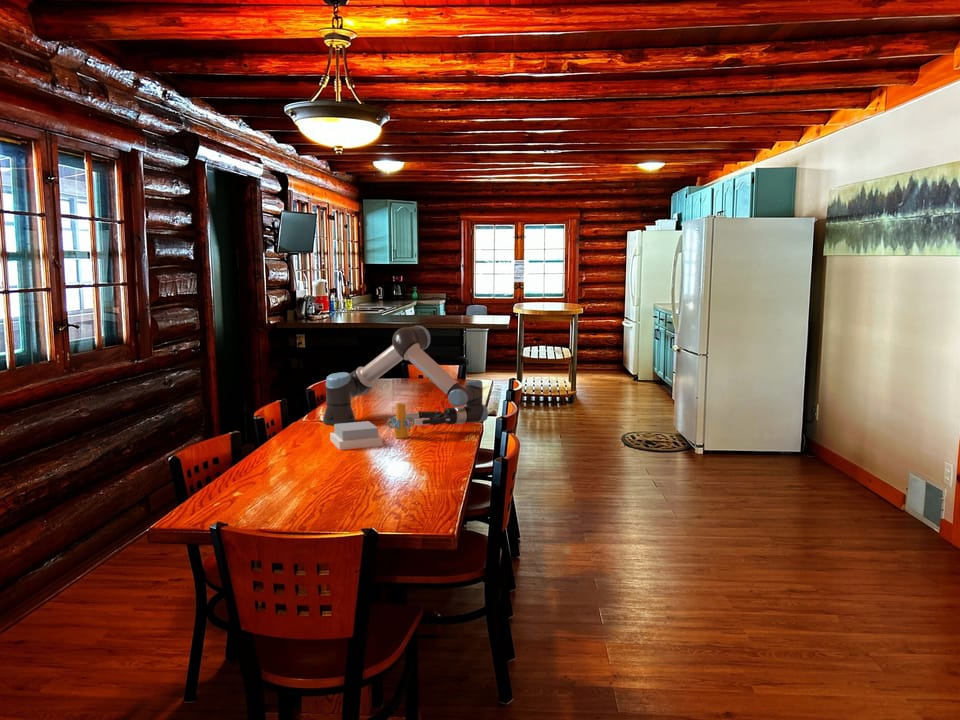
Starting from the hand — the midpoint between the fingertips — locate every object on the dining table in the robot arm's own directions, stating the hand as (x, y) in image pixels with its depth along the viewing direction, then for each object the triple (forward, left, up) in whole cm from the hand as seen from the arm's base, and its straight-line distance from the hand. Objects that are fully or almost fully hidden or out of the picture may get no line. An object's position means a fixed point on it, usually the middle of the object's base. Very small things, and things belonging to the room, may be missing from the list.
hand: (409, 419), depth 317 cm
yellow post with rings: (-1, -4, -8) cm, 9 cm away
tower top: (+2, -25, -4) cm, 25 cm away
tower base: (+2, -25, -8) cm, 26 cm away
